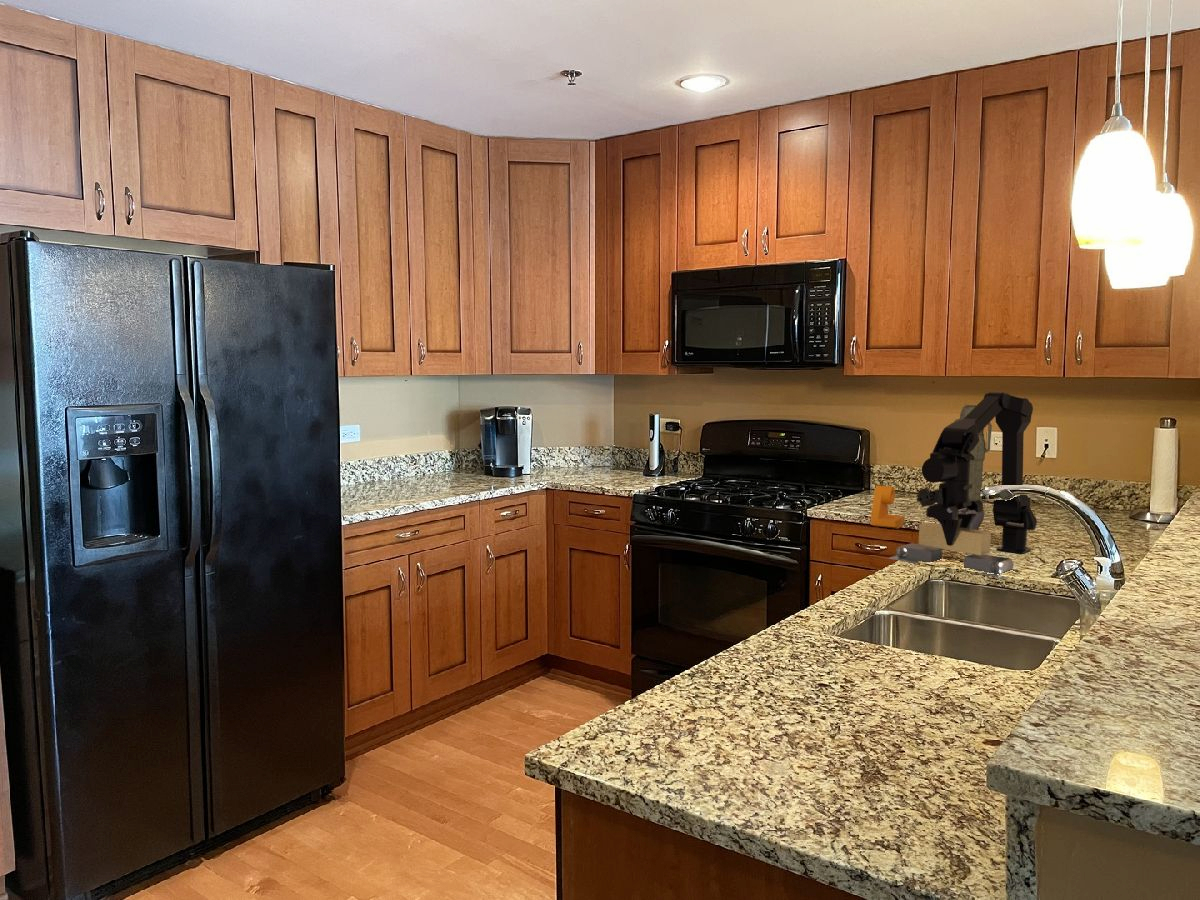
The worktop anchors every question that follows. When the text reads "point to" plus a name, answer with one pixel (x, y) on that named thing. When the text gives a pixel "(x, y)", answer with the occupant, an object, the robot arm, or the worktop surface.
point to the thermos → (976, 457)
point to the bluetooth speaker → (976, 520)
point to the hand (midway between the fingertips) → (953, 544)
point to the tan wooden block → (963, 541)
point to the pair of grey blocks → (971, 561)
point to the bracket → (884, 508)
